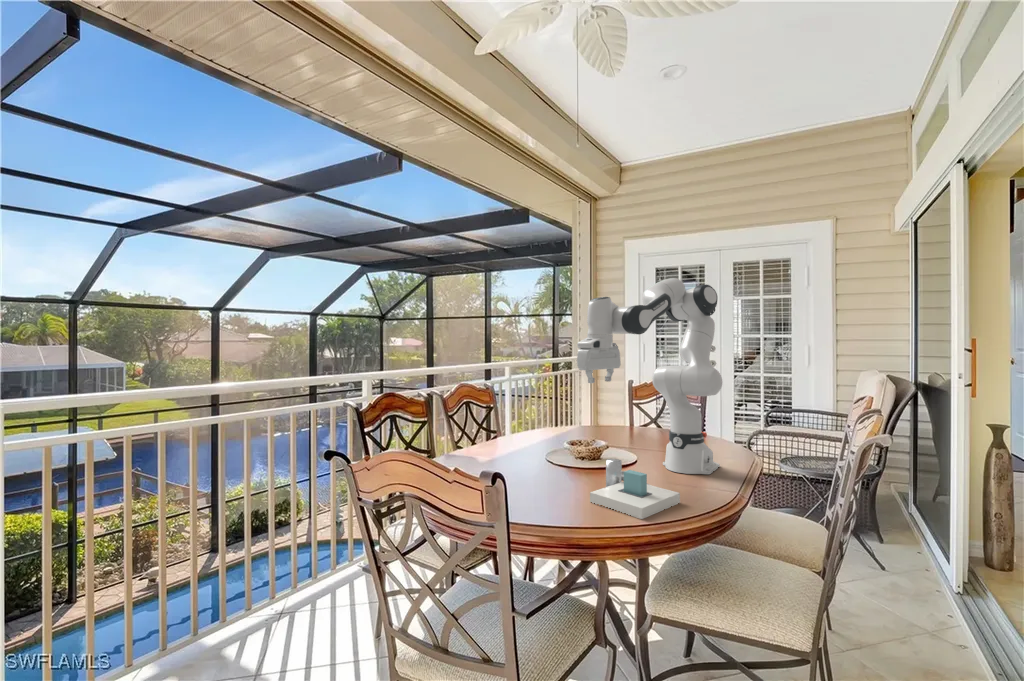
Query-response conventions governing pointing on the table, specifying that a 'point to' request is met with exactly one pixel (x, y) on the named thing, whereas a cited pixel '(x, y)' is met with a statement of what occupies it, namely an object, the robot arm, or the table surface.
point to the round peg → (613, 471)
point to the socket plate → (635, 500)
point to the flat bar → (635, 483)
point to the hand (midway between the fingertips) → (599, 382)
